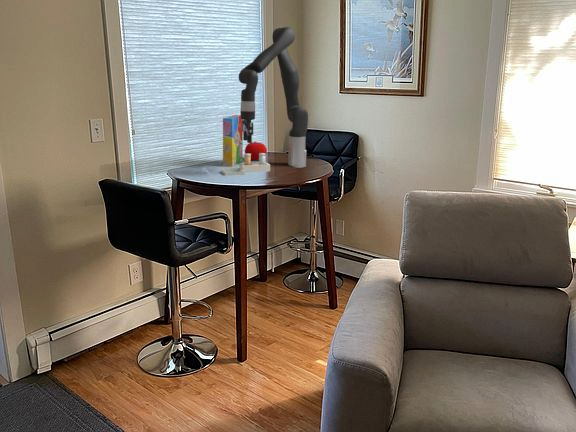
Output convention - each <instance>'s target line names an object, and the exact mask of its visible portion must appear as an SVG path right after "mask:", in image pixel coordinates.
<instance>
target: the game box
mask: <svg viewBox="0 0 576 432" xmlns="http://www.w3.org/2000/svg"><path fill="white" fill-rule="evenodd" d="M243 141H244V140H243V131H242V119H241V118H240V115H239V114H238V115H237V114H233V115H230V116H227V117H222V167H228V168H229V167H231V168H233V167H235V166H236V165H240V163H241V162H242V163H244V162H243V158H244V157H243V151H244V149H243Z"/></svg>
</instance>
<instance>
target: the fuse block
mask: <svg viewBox="0 0 576 432" xmlns="http://www.w3.org/2000/svg"><path fill="white" fill-rule="evenodd" d="M239 168H240V169H242V170H243V171H244V173H262V172H263V173H264V172H267V173H268V172H271V164H270V163H268V162H267V161H265V165H259V162H251V165H245V162H242V163H240V164H239Z"/></svg>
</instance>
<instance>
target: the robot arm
mask: <svg viewBox="0 0 576 432" xmlns="http://www.w3.org/2000/svg"><path fill="white" fill-rule="evenodd" d="M271 39H272V44H271V45H270V46H268V47H267V48H266V49H264V50H263V51H261V52H260V53H259V54H258V55H257V56H256V57H255V58H254V60H253V61H251V62H250V63H249V64H247V65H246V66H245V67H243V68H242V69H241V70H240V71H239V73H238V81H239V82H240V84H244V85H245V88H243V89H242V90H241V92H240V118H241V119H242V131H243V141H246V142H247V144H249V143H251V142H253V141H252V140H253V135H254V122H252V121H254V120H255V119H256V102H255V101H256V90H257V87H258V84H259V83H258V82H259V75H258V74H260V73H262V72H264V71H265V69H266V68H267V67H268V66H269V65H270V64H271V63H272V62H273V60H275V59H276V58H277V62H278V66H279V71H280V77H281V82H282V86H283V87H282V88H283V92H284V97H285V102H286V103H285V104H286V105H285V106H286V114H287V119H288V120H289V121H290V123H292V127H291V129H290V130H289V133H288V164H287V165H288V166H290V167H293V168H295V169H301V168H307V149H306V139H307V137H306V136H307V135H306V134H307V131H308V126H309V125H308V124H309V114H308V111H307V109H306V108H304V107H302V106H300V101H299V89H300V76H299V72H298V68H297V66H296V64H295V63H294V61H293V60H292V57H291V56H290V53H289V50H288V48H289V46H291V45H292V44H293V43H294V42H295V39H296V32H295V31H294V29H293V28H291V27H288V26H284V27H278V28H275V29H274V30H273V32H272V38H271Z"/></svg>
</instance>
